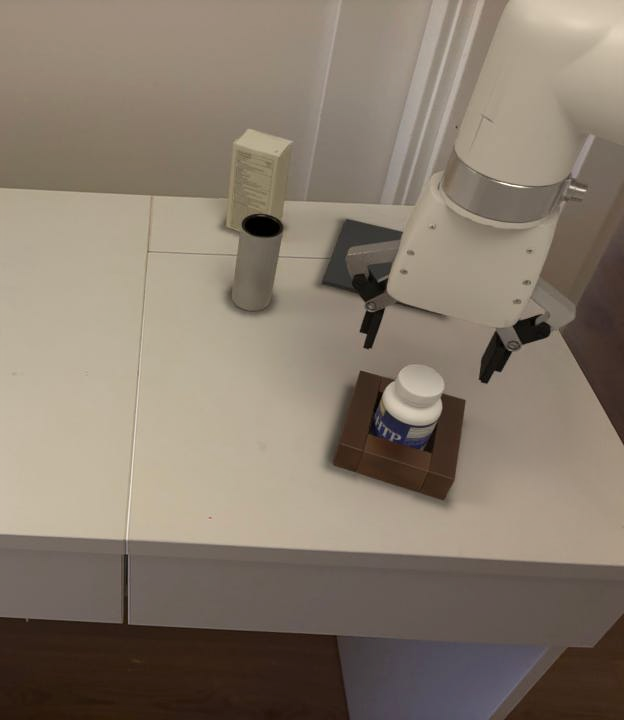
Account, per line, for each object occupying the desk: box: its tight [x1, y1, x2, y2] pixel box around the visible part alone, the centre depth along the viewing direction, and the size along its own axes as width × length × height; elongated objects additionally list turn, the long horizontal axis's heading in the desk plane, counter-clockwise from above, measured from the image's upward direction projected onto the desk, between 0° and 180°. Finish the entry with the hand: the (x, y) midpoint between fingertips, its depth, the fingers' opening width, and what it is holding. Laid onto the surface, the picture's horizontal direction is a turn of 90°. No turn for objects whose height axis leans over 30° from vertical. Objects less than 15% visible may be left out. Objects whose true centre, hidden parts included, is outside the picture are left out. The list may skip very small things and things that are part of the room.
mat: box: [321, 218, 443, 316], centre depth 92 cm, size 14×14×1 cm
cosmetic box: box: [225, 128, 294, 233], centre depth 93 cm, size 6×4×12 cm
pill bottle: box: [368, 363, 445, 451], centre depth 69 cm, size 5×5×9 cm
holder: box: [332, 370, 467, 501], centre depth 71 cm, size 10×10×3 cm
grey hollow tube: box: [231, 214, 285, 312], centre depth 83 cm, size 4×4×10 cm
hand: (425, 355), depth 64 cm, fingers open, 9 cm apart
